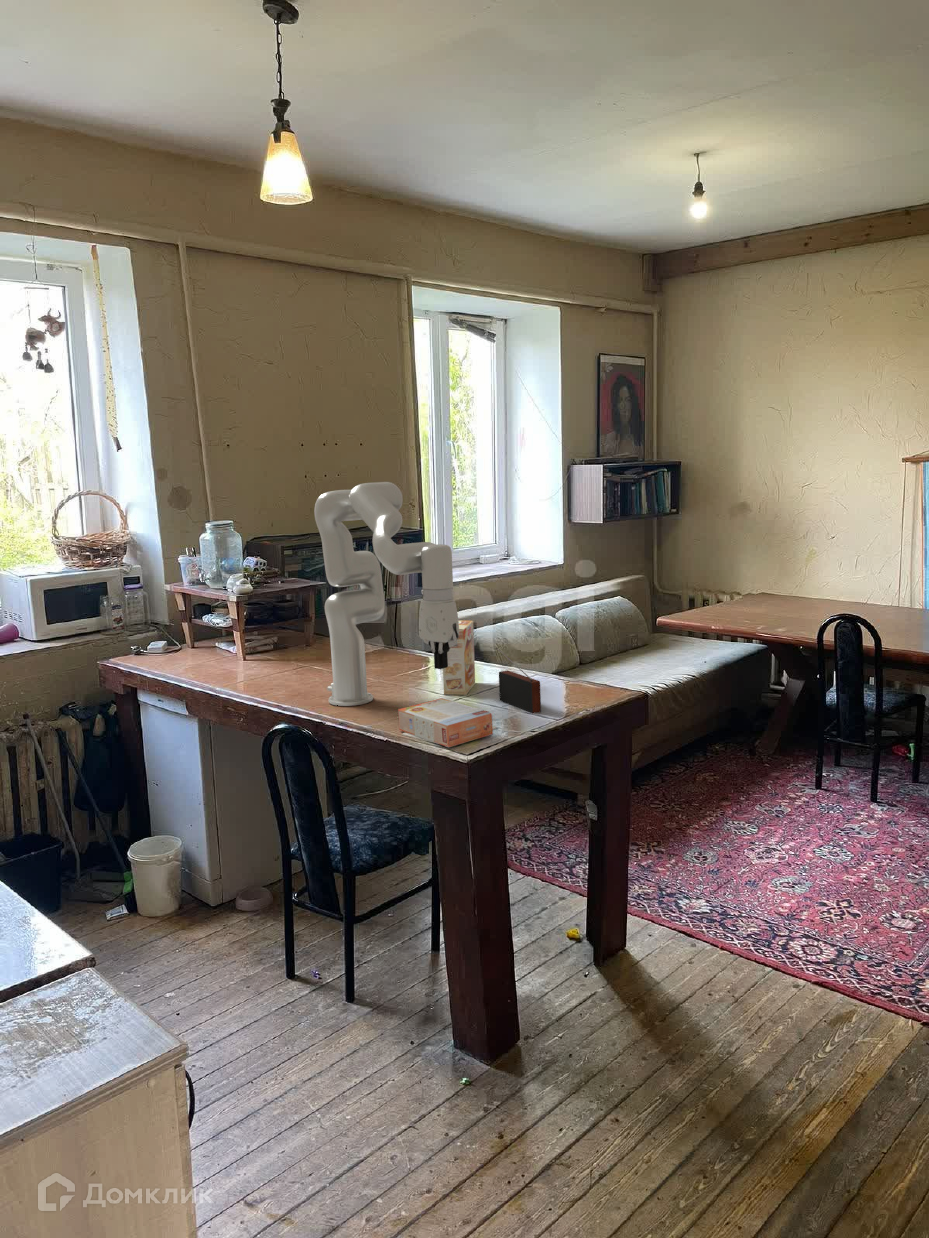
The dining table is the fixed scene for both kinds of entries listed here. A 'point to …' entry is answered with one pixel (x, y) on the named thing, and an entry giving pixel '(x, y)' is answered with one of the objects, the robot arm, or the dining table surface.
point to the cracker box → (445, 722)
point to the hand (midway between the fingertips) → (441, 667)
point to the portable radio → (519, 690)
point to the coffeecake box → (460, 662)
